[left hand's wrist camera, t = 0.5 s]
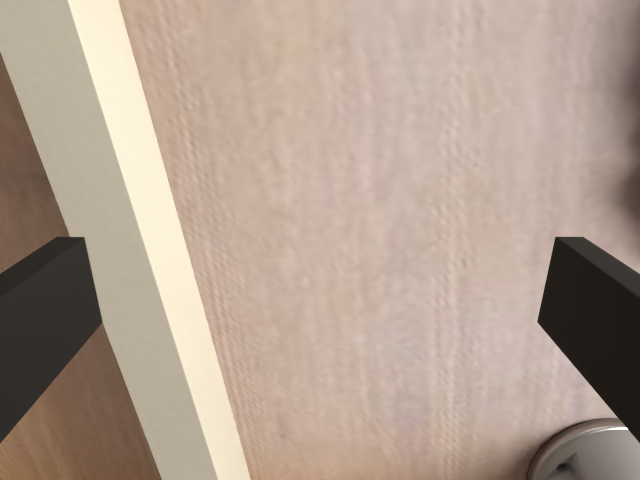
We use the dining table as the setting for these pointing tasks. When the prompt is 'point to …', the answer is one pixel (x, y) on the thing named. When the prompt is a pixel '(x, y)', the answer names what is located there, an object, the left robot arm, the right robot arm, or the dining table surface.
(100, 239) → the beam
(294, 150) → the dining table surface
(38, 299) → the left robot arm
